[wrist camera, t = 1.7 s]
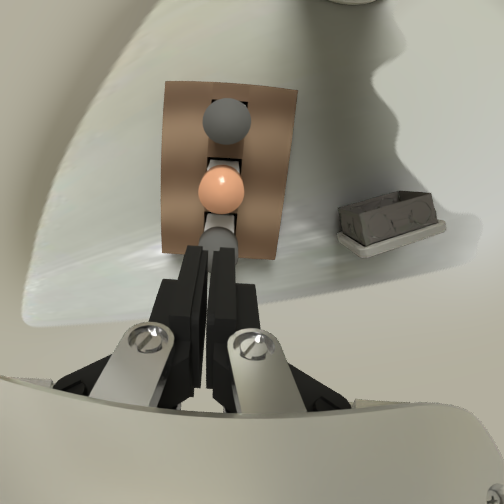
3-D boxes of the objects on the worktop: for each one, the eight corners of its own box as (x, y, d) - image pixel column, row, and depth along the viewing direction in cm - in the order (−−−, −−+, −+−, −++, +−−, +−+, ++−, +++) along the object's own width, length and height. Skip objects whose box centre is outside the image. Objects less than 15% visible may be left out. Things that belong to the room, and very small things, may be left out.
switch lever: (210, 98, 23) (204, 96, 18) (249, 100, 24) (253, 100, 18) (207, 134, 25) (200, 143, 20) (245, 137, 25) (248, 146, 20)
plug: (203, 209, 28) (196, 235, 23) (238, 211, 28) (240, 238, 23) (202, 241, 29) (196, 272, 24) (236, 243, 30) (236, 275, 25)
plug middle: (206, 154, 26) (199, 169, 20) (243, 157, 26) (246, 172, 21) (204, 190, 27) (197, 212, 22) (240, 192, 27) (242, 215, 22)
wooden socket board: (174, 83, 26) (165, 81, 22) (289, 91, 27) (297, 90, 23) (169, 235, 33) (162, 253, 29) (270, 242, 34) (275, 259, 30)
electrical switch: (336, 240, 34) (364, 276, 26) (326, 196, 32) (355, 221, 24) (406, 218, 34) (449, 246, 25) (400, 176, 32) (446, 194, 23)
